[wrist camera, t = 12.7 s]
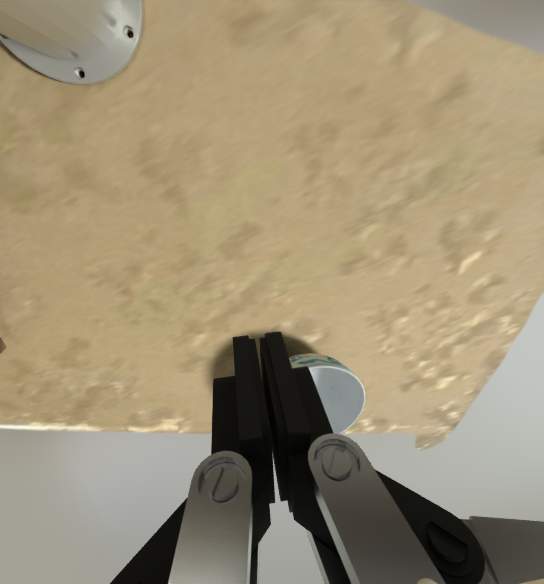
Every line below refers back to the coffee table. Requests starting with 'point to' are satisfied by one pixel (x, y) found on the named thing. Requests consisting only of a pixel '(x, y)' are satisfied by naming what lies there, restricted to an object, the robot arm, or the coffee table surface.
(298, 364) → the chinaware
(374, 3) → the coffee table surface
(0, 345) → the dock bay
